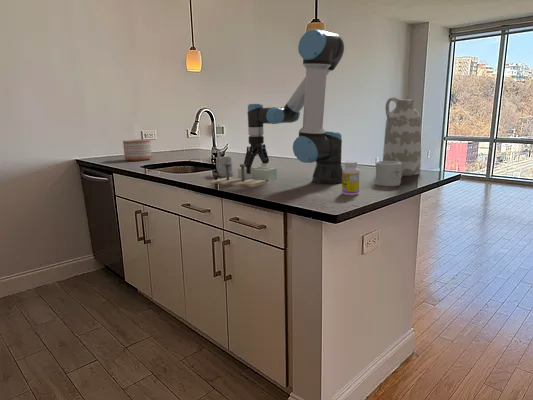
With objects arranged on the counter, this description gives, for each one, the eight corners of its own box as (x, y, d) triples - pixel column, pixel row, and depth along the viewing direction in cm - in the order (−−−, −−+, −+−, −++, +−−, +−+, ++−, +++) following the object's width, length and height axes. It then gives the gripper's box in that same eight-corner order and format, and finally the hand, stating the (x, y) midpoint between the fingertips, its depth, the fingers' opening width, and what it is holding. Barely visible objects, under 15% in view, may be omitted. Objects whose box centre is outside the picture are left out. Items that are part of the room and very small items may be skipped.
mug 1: (225, 177, 204) (223, 154, 202) (211, 175, 213) (210, 153, 210) (236, 175, 210) (235, 153, 207) (222, 173, 218) (221, 151, 215)
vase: (403, 169, 215) (407, 97, 206) (428, 174, 198) (433, 95, 189) (372, 172, 208) (374, 98, 199) (395, 177, 191) (398, 96, 182)
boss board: (267, 182, 186) (266, 163, 184) (253, 187, 176) (252, 167, 174) (226, 179, 198) (225, 161, 196) (211, 183, 188) (210, 164, 186)
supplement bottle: (339, 192, 159) (340, 161, 157) (355, 192, 160) (356, 160, 157) (344, 196, 153) (345, 163, 150) (361, 195, 153) (362, 162, 151)
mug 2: (387, 187, 167) (388, 164, 165) (370, 184, 176) (370, 161, 174) (410, 184, 173) (411, 161, 171) (392, 181, 182) (393, 159, 180)
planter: (120, 161, 286) (117, 141, 283) (132, 158, 305) (130, 139, 301) (144, 161, 283) (142, 141, 280) (156, 158, 301) (154, 139, 298)
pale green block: (276, 178, 198) (276, 168, 197) (268, 180, 191) (268, 170, 190) (247, 176, 207) (246, 166, 206) (238, 178, 200) (238, 168, 199)
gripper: (262, 133, 207) (263, 173, 212) (235, 137, 186) (237, 181, 191) (275, 134, 203) (275, 174, 208) (248, 137, 182) (249, 182, 187)
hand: (257, 178), depth 199 cm, fingers open, 13 cm apart
